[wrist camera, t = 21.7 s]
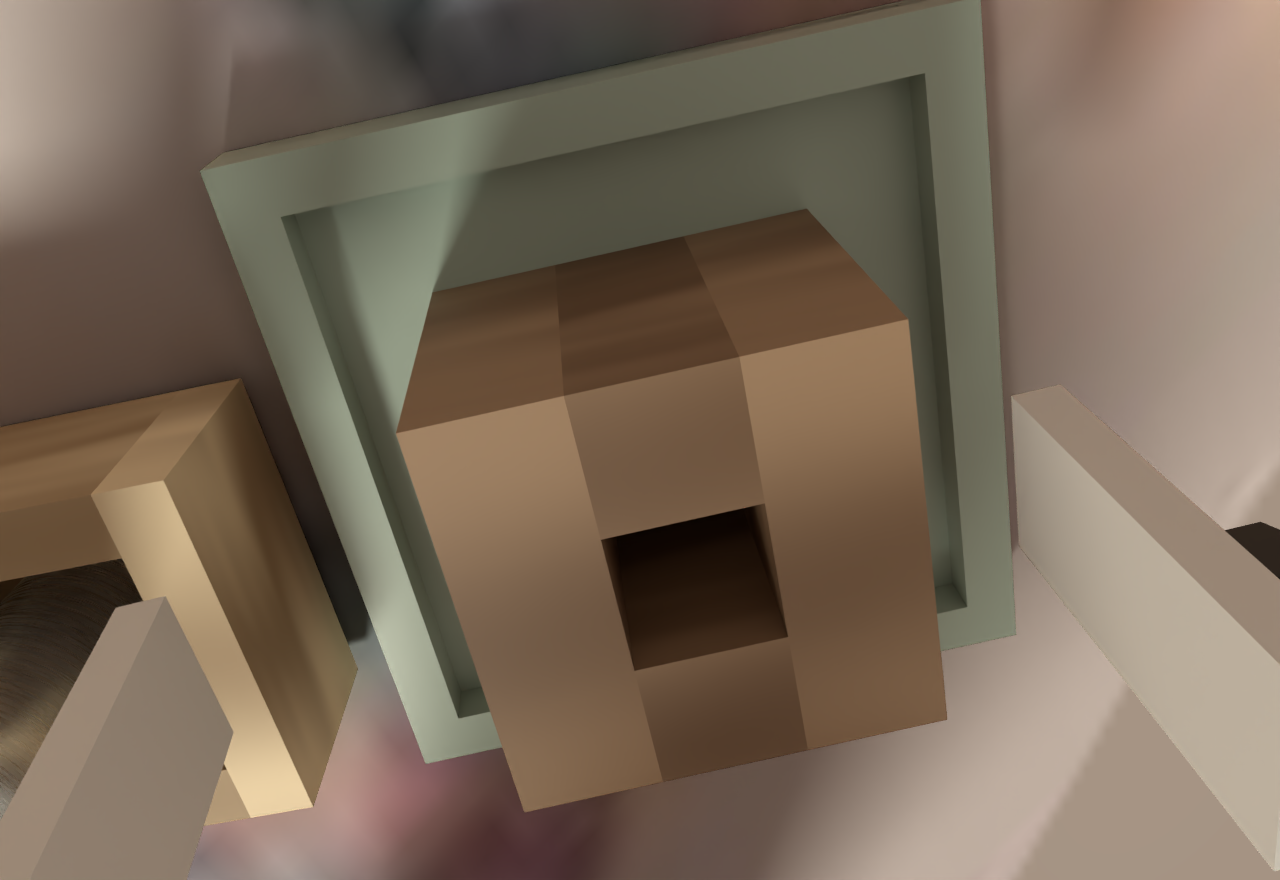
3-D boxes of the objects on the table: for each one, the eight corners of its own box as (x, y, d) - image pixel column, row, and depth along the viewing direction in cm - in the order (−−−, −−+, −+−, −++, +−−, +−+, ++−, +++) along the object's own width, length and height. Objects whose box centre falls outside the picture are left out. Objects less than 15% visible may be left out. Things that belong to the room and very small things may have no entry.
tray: (222, 152, 19) (199, 171, 18) (948, -10, 19) (979, -3, 18) (431, 717, 25) (425, 763, 24) (989, 595, 25) (1016, 634, 24)
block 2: (432, 292, 20) (396, 434, 15) (806, 208, 20) (908, 319, 15) (525, 602, 23) (524, 812, 18) (850, 530, 23) (947, 719, 18)
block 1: (-107, 448, 21) (-252, 562, 18) (240, 378, 21) (163, 480, 17) (52, 724, 24) (-44, 868, 21) (357, 668, 24) (313, 807, 20)
